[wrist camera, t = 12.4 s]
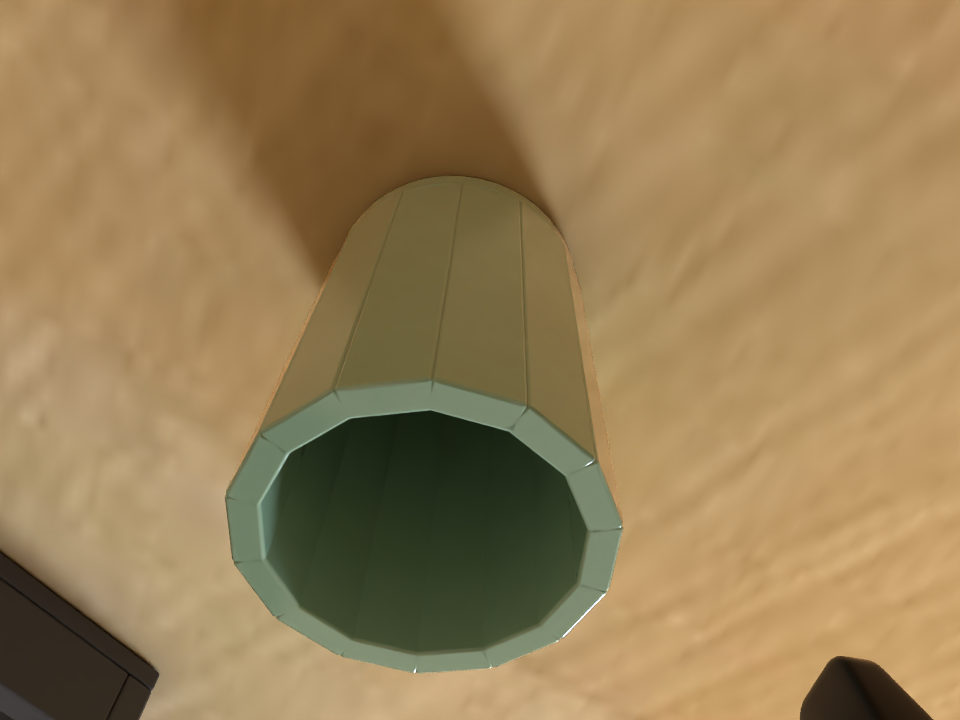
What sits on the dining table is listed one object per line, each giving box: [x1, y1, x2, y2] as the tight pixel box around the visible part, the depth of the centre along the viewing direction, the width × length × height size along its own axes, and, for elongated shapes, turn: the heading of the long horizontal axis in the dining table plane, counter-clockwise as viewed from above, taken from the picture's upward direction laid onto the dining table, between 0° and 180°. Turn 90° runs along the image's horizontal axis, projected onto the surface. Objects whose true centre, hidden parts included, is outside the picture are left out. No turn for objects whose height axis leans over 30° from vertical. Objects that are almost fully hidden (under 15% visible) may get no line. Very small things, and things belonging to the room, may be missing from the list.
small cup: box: [225, 176, 623, 674], centre depth 12 cm, size 4×4×6 cm
